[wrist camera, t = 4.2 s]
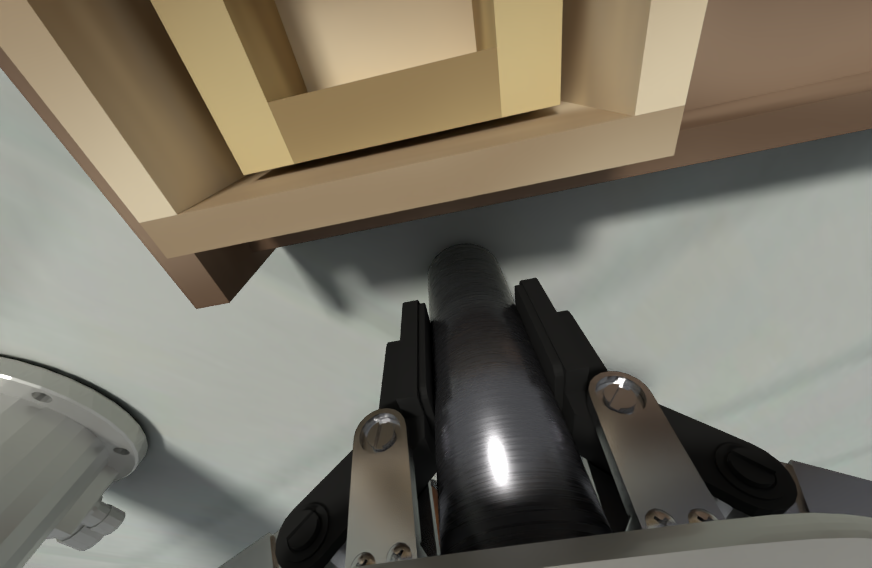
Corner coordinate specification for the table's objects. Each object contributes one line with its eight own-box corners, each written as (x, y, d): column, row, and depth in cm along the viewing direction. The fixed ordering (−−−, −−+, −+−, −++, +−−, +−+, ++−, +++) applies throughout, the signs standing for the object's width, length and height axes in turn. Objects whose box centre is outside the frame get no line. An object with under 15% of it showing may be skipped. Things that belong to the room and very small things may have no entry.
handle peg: (502, 298, 15) (612, 590, 6) (435, 310, 15) (456, 607, 7) (496, 237, 13) (638, 530, 5) (420, 252, 13) (424, 557, 5)
